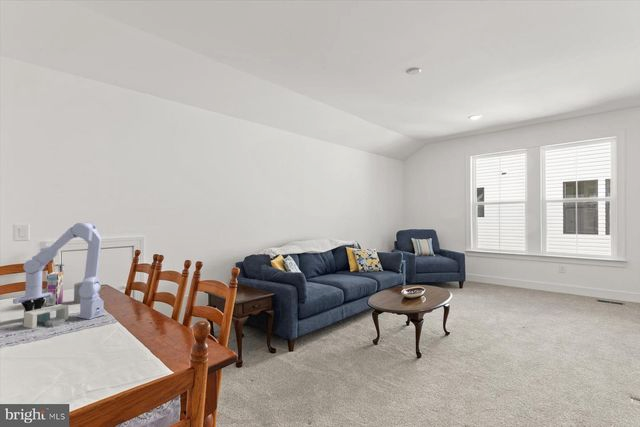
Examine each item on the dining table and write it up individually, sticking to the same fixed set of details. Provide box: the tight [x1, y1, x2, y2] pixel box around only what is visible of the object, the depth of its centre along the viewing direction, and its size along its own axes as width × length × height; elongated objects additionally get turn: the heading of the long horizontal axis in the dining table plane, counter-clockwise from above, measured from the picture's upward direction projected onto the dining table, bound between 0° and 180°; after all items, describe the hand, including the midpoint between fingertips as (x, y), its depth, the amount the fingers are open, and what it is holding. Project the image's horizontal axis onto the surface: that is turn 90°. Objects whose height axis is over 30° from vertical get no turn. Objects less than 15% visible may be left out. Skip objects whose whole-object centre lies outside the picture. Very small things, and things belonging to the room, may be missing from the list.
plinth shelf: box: [23, 303, 69, 329], centre depth 147 cm, size 6×14×6 cm, turn 159°
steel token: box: [44, 316, 66, 328], centre depth 145 cm, size 5×5×2 cm
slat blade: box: [23, 308, 51, 324], centre depth 150 cm, size 15×2×4 cm, turn 69°
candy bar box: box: [45, 271, 65, 307], centre depth 177 cm, size 11×5×16 cm, turn 25°
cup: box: [73, 281, 82, 305], centre depth 183 cm, size 8×8×10 cm
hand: (33, 316), depth 151 cm, fingers closed on slat blade, 2 cm apart
